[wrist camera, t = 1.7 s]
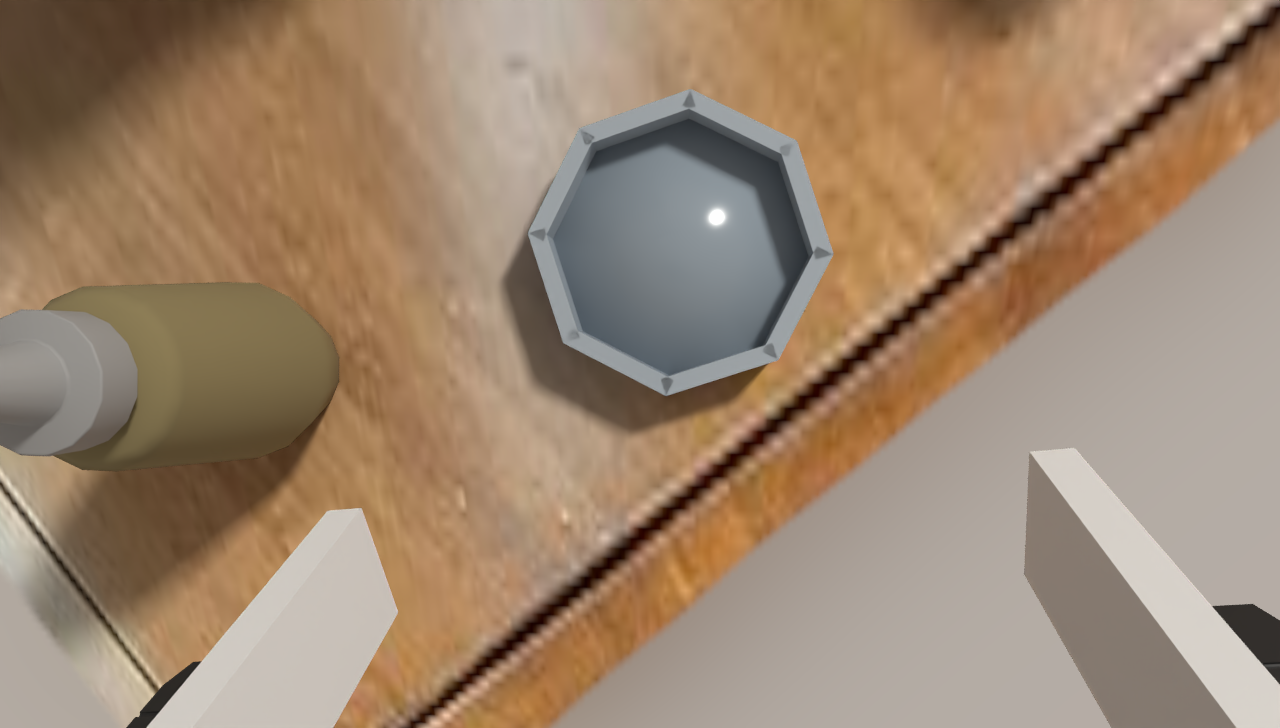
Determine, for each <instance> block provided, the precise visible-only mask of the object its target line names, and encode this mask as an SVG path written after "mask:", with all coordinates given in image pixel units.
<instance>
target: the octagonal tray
mask: <svg viewBox="0 0 1280 728" xmlns="http://www.w3.org/2000/svg"><path fill="white" fill-rule="evenodd" d="M528 236H529V239H530V242H531V245H532V248H533V251H534V255H535V258H536V261H537V264H538V267H539V270H540V273H541V276H542V279H543V282H544V285H545V288H546V292H547V295H548V298H549V301H550V304H551V307H552V310H553V313H554V316H555V319H556V322H557V325H558V329H559V332H560V335H561V338H562V341H563V343H564V344H566V345H568V346H570V347H572V348H574V349H576V350H578V351H579V352H581V353H583V354H585V355H587V356H589V357H591V358H593V359H595V360H597V361H599V362H601V363H603V364H605V365H607V366H609V367H611V368H613V369H614V370H616V371H618V372H620V373H622V374H624V375H626V376H628V377H630V378H632V379H634V380H636V381H638V382H640V383H642V384H644V385H646V386H647V387H649V388H651V389H653V390H655V391H657V392H659V393H661V394H663V395H665V396H668V395H671V394H674V393H677V392H680V391H683V390H686V389H690V388H693V387H696V386H699V385H702V384H705V383H708V382H712V381H715V380H718V379H721V378H724V377H727V376H730V375H733V374H737V373H740V372H743V371H746V370H749V369H752V368H755V367H759V366H762V365H765V364H768V363H771V362H774V361H777V360H779V358H780V356H781V354H782V352H783V350H784V348H785V346H786V344H787V342H788V341H789V339H790V337H791V335H792V333H793V331H794V329H795V327H796V325H797V323H798V321H799V319H800V317H801V316H802V314H803V312H804V310H805V308H806V306H807V304H808V302H809V300H810V298H811V296H812V294H813V293H814V291H815V289H816V287H817V285H818V283H819V281H820V279H821V277H822V275H823V273H824V271H825V269H826V268H827V266H828V264H829V262H830V260H831V258H832V256H833V251H832V248H831V245H830V242H829V239H828V236H827V233H826V230H825V226H824V223H823V220H822V217H821V214H820V211H819V208H818V205H817V202H816V199H815V195H814V192H813V189H812V186H811V183H810V180H809V177H808V174H807V171H806V168H805V165H804V161H803V158H802V155H801V152H800V149H799V146H798V143H797V141H796V140H794V139H792V138H790V137H788V136H786V135H784V134H782V133H780V132H778V131H776V130H774V129H772V128H770V127H768V126H766V125H763V124H761V123H759V122H757V121H755V120H753V119H751V118H749V117H747V116H745V115H743V114H741V113H739V112H737V111H735V110H733V109H731V108H729V107H727V106H724V105H722V104H720V103H718V102H716V101H714V100H712V99H710V98H708V97H706V96H704V95H702V94H700V93H698V92H696V91H694V90H692V89H689V90H686V91H683V92H680V93H678V94H675V95H672V96H669V97H666V98H663V99H661V100H658V101H655V102H652V103H649V104H647V105H644V106H641V107H638V108H635V109H632V110H630V111H627V112H624V113H621V114H618V115H615V116H613V117H610V118H607V119H604V120H601V121H599V122H596V123H593V124H590V125H587V126H584V127H582V128H580V129H579V130H578V132H577V134H576V136H575V138H574V140H573V142H572V144H571V146H570V148H569V150H568V152H567V154H566V156H565V158H564V160H563V162H562V164H561V166H560V168H559V171H558V173H557V175H556V177H555V179H554V181H553V183H552V185H551V187H550V189H549V191H548V193H547V195H546V197H545V199H544V201H543V203H542V205H541V207H540V209H539V211H538V213H537V215H536V217H535V219H534V221H533V223H532V225H531V227H530V229H529V231H528Z"/></svg>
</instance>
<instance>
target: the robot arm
mask: <svg viewBox="0 0 1280 728" xmlns="http://www.w3.org/2000/svg"><path fill="white" fill-rule="evenodd" d="M1027 501H1028V502H1027V522H1026V545H1025V547H1026V548H1025V569H1024V574H1025V576H1026V578H1027V580H1028V582H1029V583H1030V585H1031V587H1032V589H1033V590H1034V592H1035V594H1036V596H1037V598H1038V599H1039V601H1040V603H1041V605H1042V606H1043V608H1044V610H1045V612H1046V613H1047V615H1048V617H1049V618H1050V620H1051V622H1052V624H1053V626H1054V627H1055V629H1056V631H1057V633H1058V634H1059V636H1060V638H1061V640H1062V641H1063V643H1064V645H1065V647H1066V649H1067V650H1068V652H1069V654H1070V655H1071V657H1072V659H1073V661H1074V663H1075V664H1076V666H1077V668H1078V670H1079V671H1080V673H1081V675H1082V677H1083V678H1084V680H1085V682H1086V684H1087V686H1088V687H1089V689H1090V691H1091V693H1092V694H1093V696H1094V698H1095V700H1096V701H1097V703H1098V705H1099V706H1100V708H1101V710H1102V712H1103V714H1104V715H1105V717H1106V719H1107V721H1108V722H1109V724H1110V726H1111V728H1280V620H1278V619H1276V618H1275V617H1273V616H1272V615H1270V614H1268V613H1267V612H1265V611H1263V610H1262V609H1260V608H1258V607H1257V606H1255V605H1253V604H1245V605H1225V606H1211V605H1210V604H1209V602H1208V601H1207V600H1206V599H1205V598H1204V597H1203V596H1202V594H1201V593H1200V592H1199V591H1198V590H1197V589H1196V588H1195V586H1194V585H1193V584H1192V583H1191V582H1190V581H1189V579H1188V578H1187V577H1186V576H1185V575H1184V574H1183V572H1181V570H1180V569H1179V568H1178V567H1177V566H1176V564H1175V563H1174V562H1173V561H1172V560H1171V559H1170V557H1169V556H1168V555H1167V554H1166V553H1165V552H1164V551H1163V550H1162V548H1161V547H1160V546H1159V545H1158V544H1157V543H1156V542H1155V540H1154V539H1153V538H1152V537H1151V536H1150V534H1149V533H1148V532H1147V531H1146V530H1145V529H1144V528H1143V526H1142V525H1141V524H1140V523H1139V522H1138V521H1137V519H1136V518H1135V517H1134V516H1133V515H1132V514H1131V513H1130V511H1129V510H1128V509H1127V508H1126V507H1125V506H1124V504H1123V503H1122V502H1121V501H1120V500H1119V499H1118V498H1117V496H1116V495H1115V494H1114V493H1113V492H1112V491H1111V489H1110V488H1109V487H1108V486H1107V485H1106V484H1105V483H1104V481H1103V480H1102V479H1101V478H1100V477H1099V476H1098V474H1097V473H1096V472H1095V471H1094V470H1093V469H1092V468H1091V466H1090V465H1089V464H1088V463H1087V462H1086V461H1085V460H1084V458H1083V457H1082V456H1081V455H1080V454H1079V453H1078V451H1077V450H1076V449H1075V448H1069V449H1057V450H1046V451H1035V452H1034V451H1033V452H1029V476H1028V499H1027ZM397 614H398V610H397V607H396V605H395V602H394V599H393V596H392V593H391V590H390V588H389V585H388V582H387V579H386V576H385V573H384V571H383V568H382V565H381V562H380V559H379V557H378V554H377V551H376V548H375V545H374V542H373V540H372V537H371V534H370V531H369V528H368V525H367V523H366V520H365V517H364V514H363V511H362V508H356V509H344V510H332V511H327V512H326V513H325V515H324V516H323V517H322V518H321V519H320V521H319V522H318V523H317V524H316V525H315V527H314V528H313V529H312V530H311V531H310V533H309V534H308V535H307V536H306V537H305V539H304V540H303V541H302V542H301V543H300V545H299V546H298V547H297V548H296V549H295V550H294V552H293V553H292V554H291V555H290V556H289V558H288V559H287V560H286V561H285V562H284V564H283V565H282V566H281V567H280V568H279V570H278V571H277V572H276V573H275V574H274V576H273V577H272V578H271V579H270V580H269V582H268V583H267V584H266V585H265V586H264V588H263V589H262V590H261V591H260V592H259V594H258V595H257V596H256V597H255V598H254V600H253V601H252V602H251V603H250V604H249V606H248V607H247V608H246V609H245V610H244V611H243V613H242V614H241V615H240V616H239V617H238V619H237V620H236V621H235V622H234V623H233V625H232V626H231V627H230V628H229V629H228V631H227V632H226V633H225V634H224V635H223V637H222V638H221V639H220V640H219V641H218V643H217V644H216V645H215V646H214V647H213V649H212V650H211V651H210V652H209V653H208V655H207V656H206V657H205V658H204V659H203V661H202V662H193V663H191V664H190V665H189V666H187V667H186V668H185V669H184V670H182V671H181V672H180V673H178V674H177V675H176V676H174V677H173V678H172V679H171V680H169V681H168V682H167V683H165V684H164V685H163V686H162V687H161V688H160V689H159V691H158V692H157V693H156V694H155V695H154V696H153V697H152V699H151V700H150V701H149V702H148V703H147V704H146V706H145V707H144V708H143V709H142V710H141V711H140V716H139V717H135V718H134V719H133V721H132V722H131V723H130V724H129V725H128V726H127V728H333V727H334V725H335V724H336V722H337V720H338V718H339V716H340V715H341V713H342V711H343V709H344V708H345V706H346V704H347V702H348V700H349V699H350V697H351V695H352V693H353V692H354V690H355V688H356V686H357V685H358V683H359V681H360V679H361V677H362V676H363V674H364V672H365V670H366V669H367V667H368V665H369V663H370V662H371V660H372V658H373V656H374V654H375V653H376V651H377V649H378V647H379V646H380V644H381V642H382V640H383V638H384V637H385V635H386V633H387V631H388V630H389V628H390V626H391V624H392V623H393V621H394V619H395V617H396V615H397Z"/></svg>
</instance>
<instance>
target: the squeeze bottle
mask: <svg viewBox="0 0 1280 728" xmlns="http://www.w3.org/2000/svg"><path fill="white" fill-rule="evenodd" d="M338 382H339V356H338V353H337V351H336V348H335V346H334V343H333V340H332V338H331V336H330V335H329V334H328V333H327V332H326V330H325V329H324V328H323V327H322V326H321V325H320V324H319V323H318V322H317V321H316V320H315V319H314V318H313V317H312V316H311V315H310V314H308V313H307V312H306V311H305V310H304V309H303V308H302V307H300V306H299V305H298V304H297V303H296V302H295V301H294V300H292V299H291V298H290V297H288V296H286V295H284V294H282V293H280V292H277V291H275V290H273V289H271V288H269V287H266V286H264V285H262V284H260V283H230V282H222V283H189V284H155V285H121V286H87V287H81V288H79V289H76V290H74V291H71V292H69V293H67V294H64V295H62V296H60V297H57V298H55V299H52V300H51V301H50V302H49V303H48V304H47V305H46V306H45V307H44V308H43V309H42V310H19V311H17V312H15V313H12V314H10V315H7V316H5V317H3V318H0V445H1V446H3V447H5V448H7V449H9V450H12V451H14V452H16V453H18V454H20V455H28V456H55V457H57V458H59V459H61V460H63V461H65V462H67V463H69V464H71V465H73V466H76V467H78V468H80V469H82V470H98V471H125V470H136V469H147V468H158V467H168V466H179V465H190V464H201V463H212V462H222V461H233V460H244V459H255V458H259V457H262V456H264V455H267V454H269V453H272V452H275V451H277V450H280V449H282V448H285V447H287V446H289V445H290V444H291V443H292V442H293V441H294V440H295V439H296V438H297V437H298V436H299V435H300V434H301V433H302V432H303V431H304V430H305V429H306V428H307V427H308V426H309V425H310V424H311V423H312V422H313V421H314V420H315V419H316V418H317V416H318V415H319V414H320V413H321V412H322V411H323V410H324V409H325V407H326V406H327V405H328V404H329V403H330V401H331V399H332V397H333V394H334V392H335V389H336V387H337V385H338Z"/></svg>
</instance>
